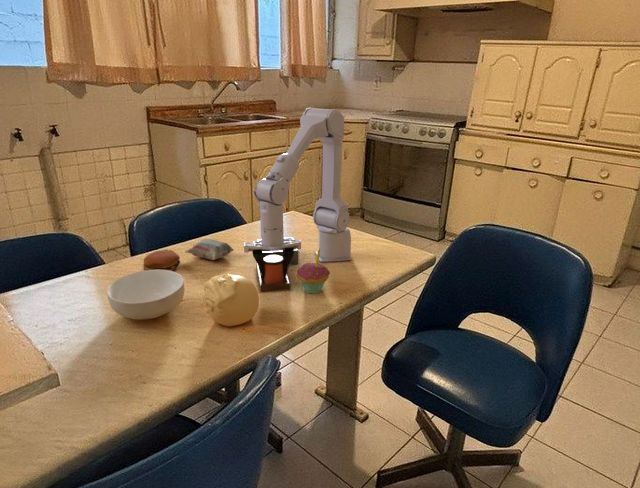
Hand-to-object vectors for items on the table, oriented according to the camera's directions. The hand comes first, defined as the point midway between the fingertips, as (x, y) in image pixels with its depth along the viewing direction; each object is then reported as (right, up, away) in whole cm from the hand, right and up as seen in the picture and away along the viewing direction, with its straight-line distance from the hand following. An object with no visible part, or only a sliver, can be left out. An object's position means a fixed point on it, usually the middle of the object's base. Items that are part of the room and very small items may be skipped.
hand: (273, 275), depth 120 cm
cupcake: (+10, -4, -1) cm, 11 cm away
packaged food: (-21, +4, +18) cm, 28 cm away
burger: (-33, +1, +10) cm, 34 cm away
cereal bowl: (-28, -8, -13) cm, 31 cm away
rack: (-1, -1, +4) cm, 4 cm away
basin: (-1, +4, +18) cm, 18 cm away
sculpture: (-7, -9, -16) cm, 20 cm away
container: (0, -2, +1) cm, 2 cm away
